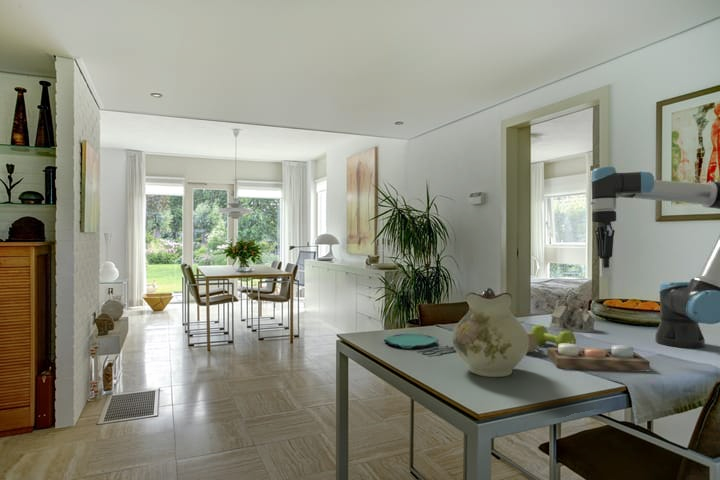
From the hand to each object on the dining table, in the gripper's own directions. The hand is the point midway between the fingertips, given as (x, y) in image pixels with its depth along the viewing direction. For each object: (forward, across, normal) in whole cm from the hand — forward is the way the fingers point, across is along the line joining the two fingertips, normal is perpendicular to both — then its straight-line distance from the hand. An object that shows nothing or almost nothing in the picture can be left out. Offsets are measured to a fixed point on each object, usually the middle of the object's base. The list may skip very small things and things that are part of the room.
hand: (605, 276), depth 158 cm
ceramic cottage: (+27, -38, -2) cm, 47 cm away
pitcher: (+27, +31, -43) cm, 59 cm away
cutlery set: (+27, +2, -67) cm, 72 cm away
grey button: (+25, +18, -1) cm, 31 cm away
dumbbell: (+27, -2, -18) cm, 32 cm away
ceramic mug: (+27, +4, -28) cm, 39 cm away
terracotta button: (+26, +18, -9) cm, 33 cm away
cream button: (+25, +18, -17) cm, 35 cm away
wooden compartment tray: (+26, +18, -9) cm, 33 cm away
